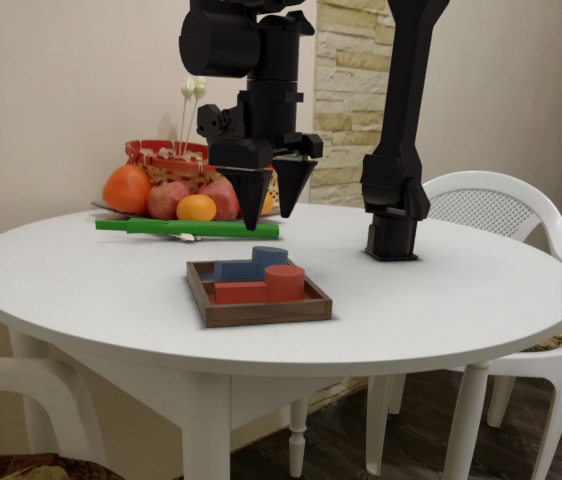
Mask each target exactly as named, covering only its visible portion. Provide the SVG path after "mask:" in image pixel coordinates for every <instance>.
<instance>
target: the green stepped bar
mask: <svg viewBox="0 0 562 480" xmlns="http://www.w3.org/2000/svg"><path fill="white" fill-rule="evenodd" d="M94 224H95V230H96V231H97V230H98V231H118V232H125V233H126V234H127V235H130V234H167V235H168V236H172V237H175V238H177V239H180V240H181V241H183V242H187V241H188V240H189V241H195V239H196V241H201V239H202V237H203V238H204V237H205V238H207V237H208V238H209V237H210V238H233V239H234V238H235V239H236V238H238V239H247V238H248V239H249V238H250V239H253V238H254V239H279V237H280V226H279V224H272V223H258V225H257V228H256V230H255V231H249V230H247V229H246V227H245V223H244V222H243V221H242V222H240V221H218V220H217V221H216V220H215V221H214V220H194V219H193V220H190V219H189V220H188V219H183V220H182V219H174V220H173V219H170V220H169V219H168V220H164V219H154V218H141V217H140V218H139V217H129V219H128V220H105V219H104V220H102V219H95V220H94Z"/></svg>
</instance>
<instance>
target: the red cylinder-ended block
mask: <svg viewBox="0 0 562 480" xmlns="http://www.w3.org/2000/svg"><path fill="white" fill-rule="evenodd" d="M305 271H306V270H305V269H304V268H302V267H300V266H297V265H296V266H293V265H272V266H269V267H266V268H265V277H264V281H262V282H233V283H214V296H215V302H216V304H232V303H255V302H275V301H293V300H303V297H304V279H305V274H306V272H305Z"/></svg>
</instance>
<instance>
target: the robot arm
mask: <svg viewBox="0 0 562 480" xmlns="http://www.w3.org/2000/svg"><path fill="white" fill-rule="evenodd" d="M306 1H307V0H189V11H188V12H187V13H186V14H185V17H184V19H183V21H182V25H181V29H180V35H178V51H179V52H178V53H179V57H180V60H181V62H182V65H183V67H184V69H185V70H186V72H187V73H188V74H190V75H192V76H194V77H205V78H206V77H208V78H223V79H237V80H238V79H243V78H245V77H246V89H239V90H238V93H237V94H236V105H234V106H233V107H232V106H231V107H229V108H223V109H220V107H218V105H217V104H215V103H205V104H203V105H201V106H198V107H197V110H196V111H197V112H196V129H195V131H196V134H197V135H198V136H200V137H202V138H205V141H206V144H207V146H206V153H207V156H206V158H207V159H206V160H207V165H208V166H212V167H213V166H214V170H215V172H216V174H221V175H222V176H223V177H224V178H225V179H226V180H227V181H228V182H229V183H230V185H231V186H232V190H233V192H234V194H235V197H236V201H237V203H238V207H239V211H240V213H241V217H242V220H243V223H245V227H246V229H247V230H249V231H255V230H256V228H257V225H258V224H259V222H260V219H261V215H262V212H263V208H264V204H265V201H266V198H267V194H268V191H269V188H270V184H271V180H272V177H273V173H274V172H275V173H276V176H277V178H276V179H277V190H278V191H277V193H278V204H279V214H280V217H281V219H290V217H291V215H292V213H293V211H294V209H295V207H296V205H297V203H298V200H299V198H300V197H301V195H302V192H303V190H304V188H305V186H306V185H307V182H308V180H309V179H310V177H311V176H312V173H313V171H314V169H315V167H316V166H318V164H319V161H318V160H316V159H322V158H323V157H324V144H325V143H324V141H323V139H322V138H321V137H320V135H319V134H318V133H311V132H310V133H309V132H302V131H297V114H298V113H297V111H298V103H301V104H303V103H304V100H305V99H304V97H305V92H298V91H299V90H298V89H299V86H298V85H299V83H298V82H299V62H300V42H301V41H300V39H301V38H302V37H313V36H314V35H315V34H316V29H315V28H314V26H313V24H312V23H311V22H310V21H309V20H308V19H307V18H306V15H305V13H304V11H303V10H302V9H296V10H289V11H287V13H286V14H285V15H279V13H281V12H282V11H283V10H285V9H286V8H288V7H295V6H299V5H301V4H303V3H304V2H306ZM386 2H387V4H388V5H387V6H388V7H389V11H390V14H391V16H392V19H393V22H394V24H395V25H394V33H393V41H392V47H391V49H392V50H391V57H390V64H389V70H388V78H387V84H386V85H387V87H386V93H385V102H384V110H383V116H382V122H381V123H382V124H381V131H380V138H379V143H378V144H377V145H376V147H375V148H374V150H373V151H372V153H371V154H370V153H365V154H364V155H363V158H362V168H361V169H362V170H361V176H360V178H359V182H358V183H359V184H361V195H362V198H363V206H364V212H365V213H366V214H372V221H371V223H370V224H369V225H368V229H367V231H368V232H367V241H366V247H365V248H364V252H366V253H367V254H369V255H370V256H372V257H374V258H375V259H376V260H379V261H407V260H418V259H419V256H418V255H417V254H415V253H414V250H415V244H416V236H417V229H418V223H419V222H423V221H424V220H427V218H428V216H429V213H430V210H431V208H432V204H431V201H430V200H429V197H428V195H427V192H426V191H425V189H424V186H423V184H422V177H423V163H422V160H421V158H420V154H419V152H418V149H417V147H416V139H417V133H418V126H419V120H420V113H421V109H422V101H423V96H424V88H425V83H426V77H427V71H428V63H429V57H430V52H431V51H430V50H431V46H432V40H433V39H432V38H433V32H434V28H435V26H436V24H437V23H438V21H439V19H440V18H441V16H442V15H443V13H444V11H445V10H446V9H447V7H448V6H449V4H450V2H451V0H386ZM261 15H263V17H262V18H261V19H260V20H259V21H258V16H261ZM309 158H310V159H311V160H310V159H309ZM312 159H313V160H312ZM270 167H272V169H266V168H270Z"/></svg>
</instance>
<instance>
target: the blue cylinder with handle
mask: <svg viewBox="0 0 562 480" xmlns="http://www.w3.org/2000/svg"><path fill="white" fill-rule="evenodd" d="M288 258H289V250H287V249H285V248H281V247H276V246H267V245H254V246H252V247H251V258H250V259H251V260H246V259H220V260H218V259H217V260H214V261H215V263H214V277H216V278H218V279H246V278H264V277H265V268H266V267H269V266H272V265H287V259H288Z"/></svg>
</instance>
